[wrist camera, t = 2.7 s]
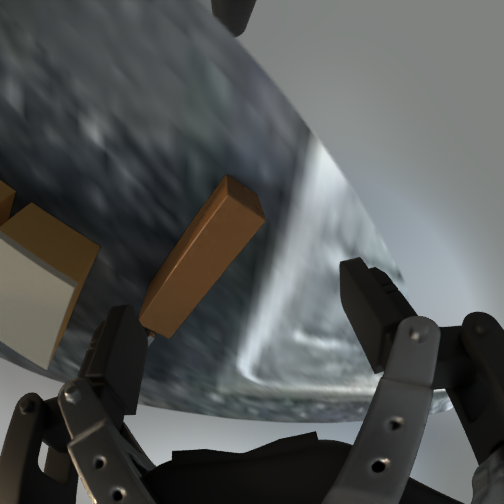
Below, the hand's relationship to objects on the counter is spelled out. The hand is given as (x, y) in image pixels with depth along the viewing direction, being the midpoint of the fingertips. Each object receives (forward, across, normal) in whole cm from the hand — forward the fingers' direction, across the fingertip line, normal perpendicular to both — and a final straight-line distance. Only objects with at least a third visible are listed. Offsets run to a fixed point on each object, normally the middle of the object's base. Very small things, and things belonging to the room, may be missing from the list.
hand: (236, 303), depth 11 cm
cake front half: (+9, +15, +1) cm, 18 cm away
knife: (+9, +6, +5) cm, 12 cm away
